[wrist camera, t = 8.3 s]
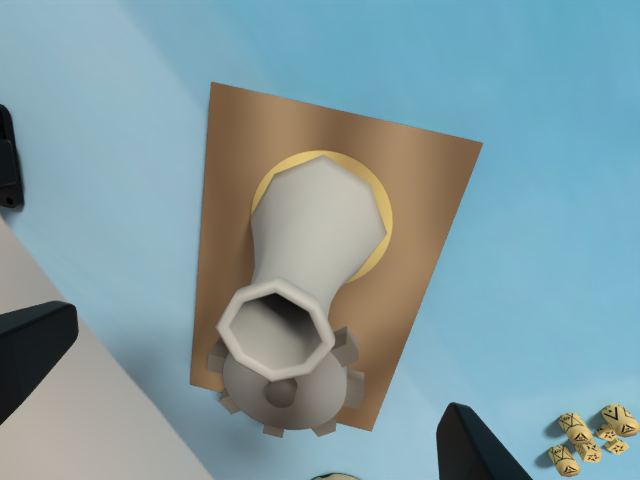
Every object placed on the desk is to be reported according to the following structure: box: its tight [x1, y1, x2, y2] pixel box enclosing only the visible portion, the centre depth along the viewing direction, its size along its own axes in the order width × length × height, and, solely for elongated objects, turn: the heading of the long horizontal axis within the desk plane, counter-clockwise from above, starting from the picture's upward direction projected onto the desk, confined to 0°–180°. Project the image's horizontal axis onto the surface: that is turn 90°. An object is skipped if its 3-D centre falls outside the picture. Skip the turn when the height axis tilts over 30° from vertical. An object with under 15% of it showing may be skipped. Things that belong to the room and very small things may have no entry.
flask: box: [215, 155, 387, 382], centre depth 14 cm, size 7×7×10 cm
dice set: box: [548, 404, 640, 477], centre depth 23 cm, size 5×5×2 cm
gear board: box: [190, 82, 483, 438], centre depth 19 cm, size 14×22×4 cm, turn 168°
